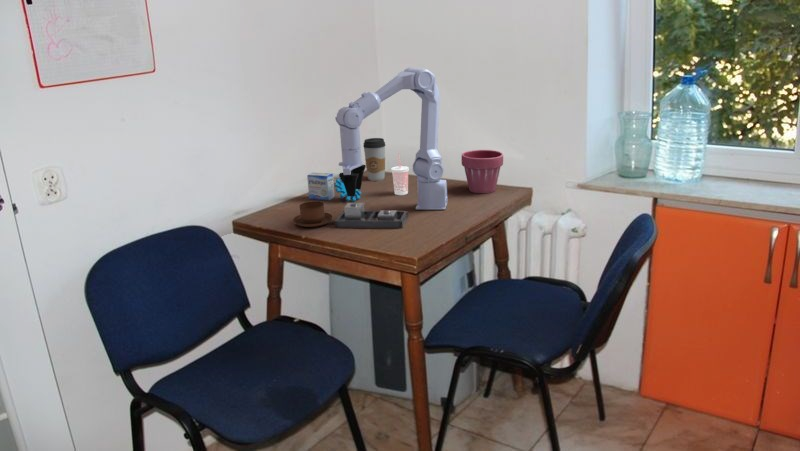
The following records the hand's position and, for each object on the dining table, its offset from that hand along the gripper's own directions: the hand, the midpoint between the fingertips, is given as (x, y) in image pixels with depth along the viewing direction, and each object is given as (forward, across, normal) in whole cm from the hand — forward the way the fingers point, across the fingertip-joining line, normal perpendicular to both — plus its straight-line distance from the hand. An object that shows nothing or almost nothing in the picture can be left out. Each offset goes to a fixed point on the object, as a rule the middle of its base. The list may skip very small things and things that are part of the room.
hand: (354, 192), depth 204 cm
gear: (+10, -25, -8) cm, 28 cm away
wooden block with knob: (+9, 0, +10) cm, 14 cm away
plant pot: (+10, -36, +36) cm, 52 cm away
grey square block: (+10, 0, 0) cm, 10 cm away
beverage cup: (+10, -32, +8) cm, 35 cm away
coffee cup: (+10, -52, -5) cm, 53 cm away
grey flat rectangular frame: (+9, 0, +5) cm, 11 cm away
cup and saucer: (+10, +2, -13) cm, 17 cm away
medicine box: (+10, -26, -19) cm, 34 cm away
